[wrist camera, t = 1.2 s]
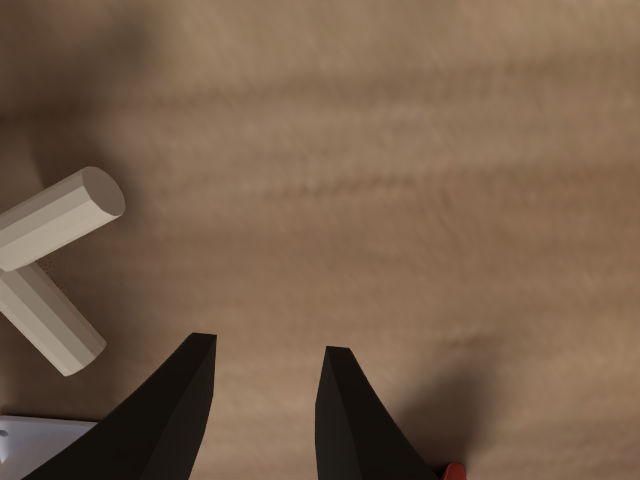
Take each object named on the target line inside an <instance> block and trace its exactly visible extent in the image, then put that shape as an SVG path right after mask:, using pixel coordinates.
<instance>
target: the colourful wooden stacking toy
mask: <svg viewBox="0 0 640 480" xmlns="http://www.w3.org/2000/svg"><path fill="white" fill-rule="evenodd" d="M440 480H466V475H465V471H464V468H463V466H462V465H461V464H460V463H451V464H449V465H448V467H447V468H446V470H445V472H444V474H443V476H442V477H441V479H440Z"/></svg>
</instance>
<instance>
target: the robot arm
mask: <svg viewBox="0 0 640 480" xmlns="http://www.w3.org/2000/svg"><path fill="white" fill-rule="evenodd" d="M216 340H217V335H213V334H203V333H192V334H190V335H189V336H188V337H187V338H186V339H185V340H184V342H183V343H182V344H181V345H180V346H179V347H178V348H177V349H176V350H175V351H174V353H173V354H172V355H171V356H170V357H169V358H168V359H167V360H166V361H165V362H164V363H163V364H162V365H161V366H160V367H159V368H158V369H157V370H156V371H155V372H154V373H153V374H152V375H151V376H150V377H149V378H148V379H147V380H146V381H145V382H144V383H143V384H142V385H141V386H140V387H139V388H138V389H136V390H135V391H134V392H133V393H132V394H131V395H130V396H129V397H127V398H126V399H125V400H124V401H123V402H122V403H121V404H120V405H118V406H117V407H116V408H115V409H114V410H113V411H112V412H110V413H109V414H108V415H107V416H106V417H105V418H103V419H102V420H101V421H100V422H98V423H97V422H84V421H71V420H58V419H45V418H32V417H19V416H6V415H5V416H0V459H1V463H2V464H1V466H0V480H188V479H189V476H190V474H191V471H192V468H193V465H194V462H195V459H196V456H197V453H198V450H199V448H200V445H201V442H202V439H203V436H204V433H205V428H206V424H207V420H208V416H209V412H210V407H211V403H212V398H213V390H214V374H215V357H216ZM315 449H316V460H317V471H318V480H440V479H439V478H438V477H437V476H436V475H435V474H434V472H433V471H432V470H431V469H430V468H429V466H428V465H427V464H426V463H425V462H424V461H423V459H422V458H421V457H420V456H419V454H418V453H417V452H416V450H415V449H414V448H413V447H412V445H411V444H410V443H409V441H408V440H407V439H406V437H405V436H404V435H403V433H402V432H401V430H400V429H399V428H398V426H397V425H396V423H395V422H394V421H393V419H392V418H391V416H390V415H389V413H388V412H387V410H386V409H385V407H384V406H383V404H382V402H381V401H380V399H379V398H378V396H377V395H376V393H375V391H374V390H373V388H372V387H371V385H370V383H369V382H368V380H367V378H366V376H365V375H364V373H363V371H362V369H361V368H360V366H359V364H358V362H357V360H356V358H355V357H354V355H353V353H352V351H351V350H350V349H349V348H344V347H334V346H326V351H325V356H324V362H323V367H322V372H321V377H320V383H319V388H318V393H317V398H316V403H315Z"/></svg>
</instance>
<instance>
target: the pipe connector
mask: <svg viewBox="0 0 640 480" xmlns="http://www.w3.org/2000/svg"><path fill="white" fill-rule="evenodd" d="M125 209H126V205H125V199H124V195H123V194H122V192H121V190H120V188H119V186H118V184H117V183H116V182H115V181H114V180H113V179H112V178H111V177H110V176H109V175H108V174H107V173H106V172H104V171H103V170H101V169H99V168H97V167H89V166H87V167H85V168H83V169H81V170H79V171H78V172H76V173H74V174H72V175H70V176H68V177H67V178H65V179H63V180H61V181H59V182H58V183H56V184H54V185H52V186H50V187H49V188H47V189H45V190H43V191H41V192H40V193H38V194H36V195H34V196H32V197H31V198H29V199H27V200H25V201H23V202H22V203H20V204H18V205H16V206H14V207H13V208H11V209H9V210H7V211H5V212H4V213H2V214H0V311H1V312H2V313H3V314H4V315H5V316H6V317H7V318H8V319H9V320H10V321H11V322H12V323H13V324H14V325H15V326H16V327H17V328H18V329H19V330H20V331H21V332H22V333H23V335H24V336H25V337H26V338H27V339H28V340H29V341H30V342H31V343H32V344H33V345H34V346H35V347H36V348H37V349H38V350H39V351H40V352H41V353H42V354H43V355H44V356H45V357H46V358H47V359H48V360H49V361H50V362H51V363H52V364H53V365H54V366H55V367H56V368H57V369H58V370H59V371H60V372H61V373H62V374H63V375H64V376H68V375H72V374H74V373H76V372H77V371H79V370H81V369H82V368H84V367H85V366H87V365H88V364H89V363H90V362H92V361H93V360H94V359H95V358H96V357H97V356H98V355H99V354H100V353H101V352H102V351H103V350H104V348H105V346H106V344H107V342H106V341H105V340H104V339H103V338H102V337H101V336H100V335H99V333H98V332H97V331H96V330H95V329H94V328H93V327H92V325H91V324H90V323H89V322H88V321H87V320H86V319H85V318H84V316H83V315H82V314H81V313H80V312H79V311H78V310H77V309H76V307H75V306H74V305H73V304H72V303H71V302H70V301H69V299H68V298H67V297H66V296H65V295H64V294H63V293H62V292H61V290H60V289H59V288H58V287H57V286H56V285H55V284H54V282H53V281H52V280H51V279H50V278H49V277H48V276H47V275H46V273H45V272H44V271H43V270H42V269H41V268H40V267H39V266H38V264H37V263H36V262H35V261H36V260H37V259H39V258H41V257H43V256H45V255H47V254H49V253H51V252H53V251H55V250H57V249H58V248H60V247H62V246H64V245H66V244H68V243H70V242H72V241H74V240H76V239H78V238H79V237H81V236H83V235H85V234H87V233H89V232H91V231H93V230H95V229H97V228H99V227H100V226H102V225H104V224H106V223H108V222H110V221H112V220H114V219H116V218H118V217H119V216H121V215H123V213H124V211H125Z"/></svg>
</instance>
